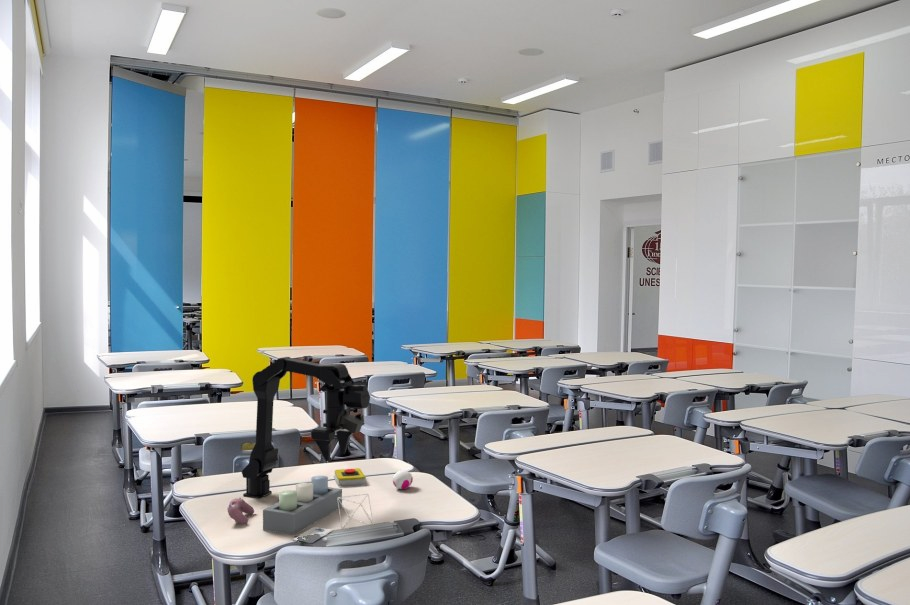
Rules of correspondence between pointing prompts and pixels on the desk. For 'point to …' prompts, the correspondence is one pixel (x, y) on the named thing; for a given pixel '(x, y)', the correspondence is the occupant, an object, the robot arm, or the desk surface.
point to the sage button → (288, 500)
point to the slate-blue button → (320, 485)
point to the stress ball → (402, 479)
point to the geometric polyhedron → (356, 509)
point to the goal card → (313, 532)
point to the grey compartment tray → (301, 513)
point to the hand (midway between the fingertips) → (335, 457)
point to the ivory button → (304, 492)
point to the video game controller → (239, 510)
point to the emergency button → (349, 478)
